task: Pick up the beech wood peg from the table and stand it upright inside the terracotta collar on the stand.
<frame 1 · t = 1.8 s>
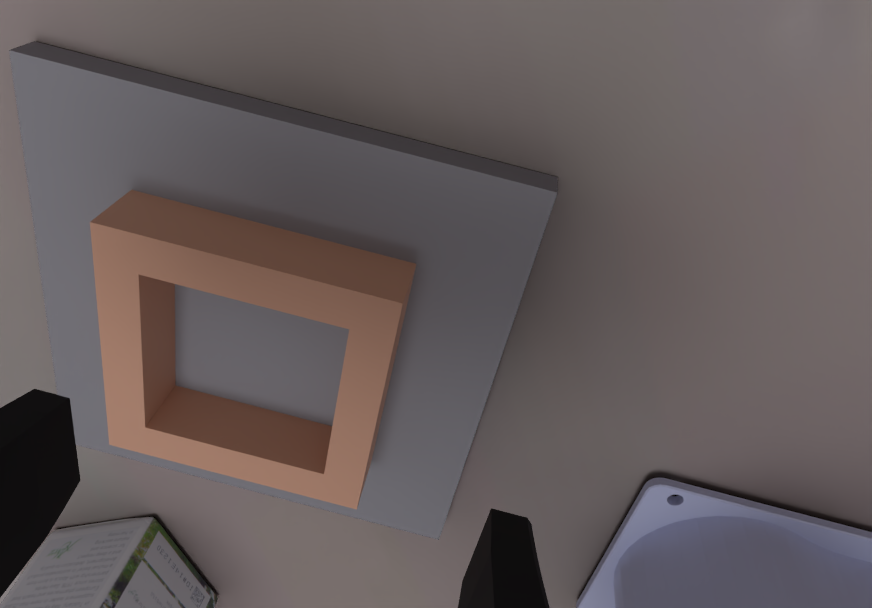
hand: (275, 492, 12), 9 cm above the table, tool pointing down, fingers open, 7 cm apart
collar stand: (275, 322, 22), on the table
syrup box: (141, 558, 30), on the table
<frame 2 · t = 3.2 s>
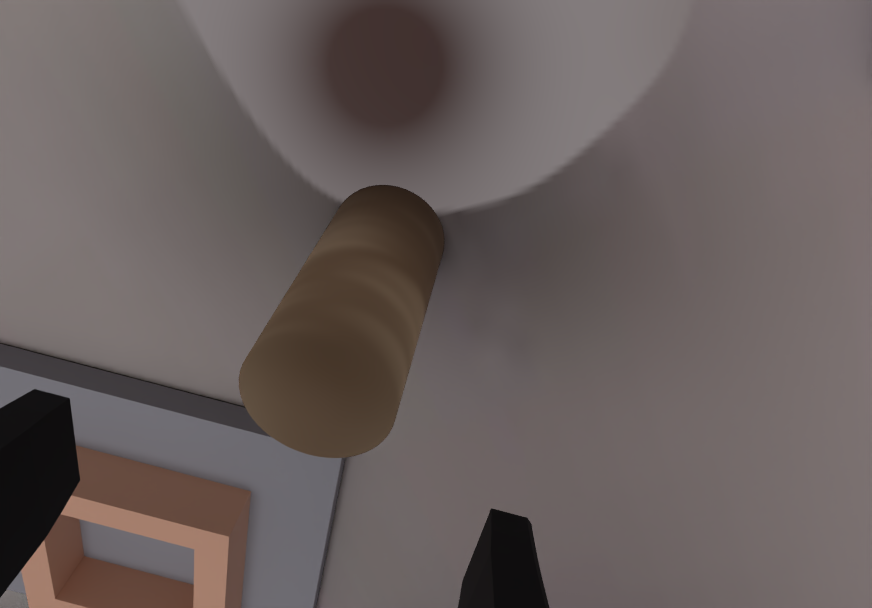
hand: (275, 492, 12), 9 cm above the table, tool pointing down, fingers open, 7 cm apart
collar stand: (159, 511, 28), on the table
wood peg: (388, 237, 19), on the table
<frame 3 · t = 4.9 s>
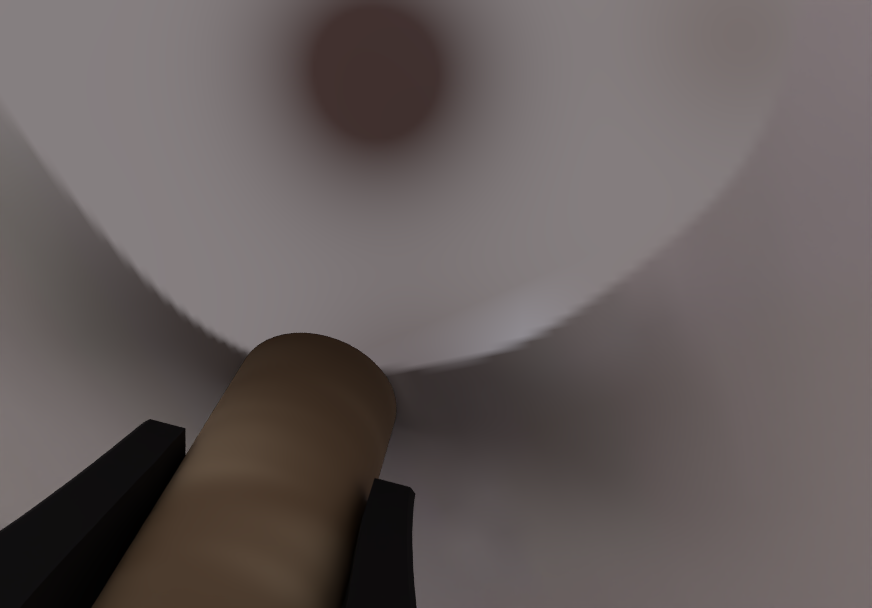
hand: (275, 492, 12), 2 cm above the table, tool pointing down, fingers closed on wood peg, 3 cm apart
wood peg: (317, 398, 14), on the table, touching gripper
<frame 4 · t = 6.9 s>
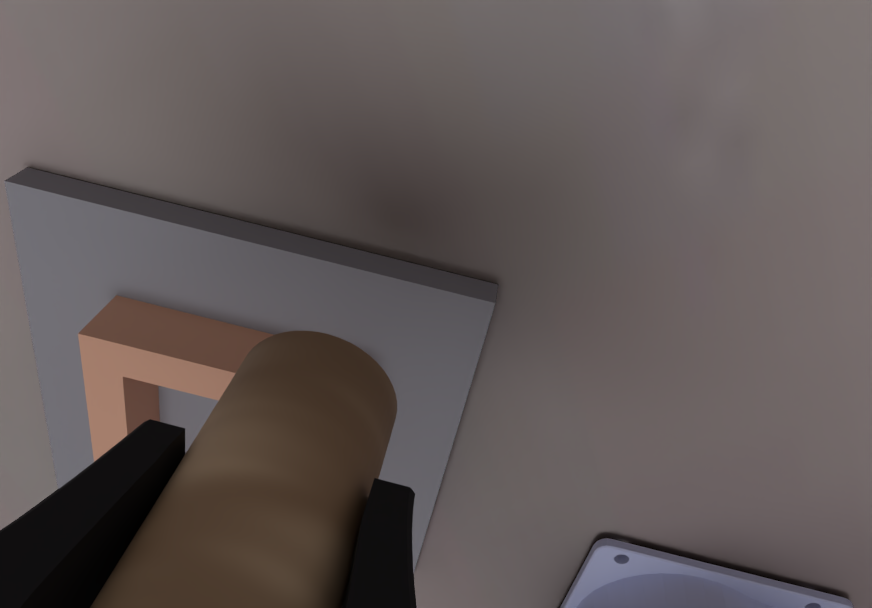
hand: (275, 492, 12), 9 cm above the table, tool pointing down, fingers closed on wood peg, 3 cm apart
collar stand: (251, 401, 24), on the table
wood peg: (317, 396, 14), point 7 cm above the table, touching gripper
when the fingers open (4 cm above the table, at t = 9.1 s): wood peg stays where it is, resting on collar stand.
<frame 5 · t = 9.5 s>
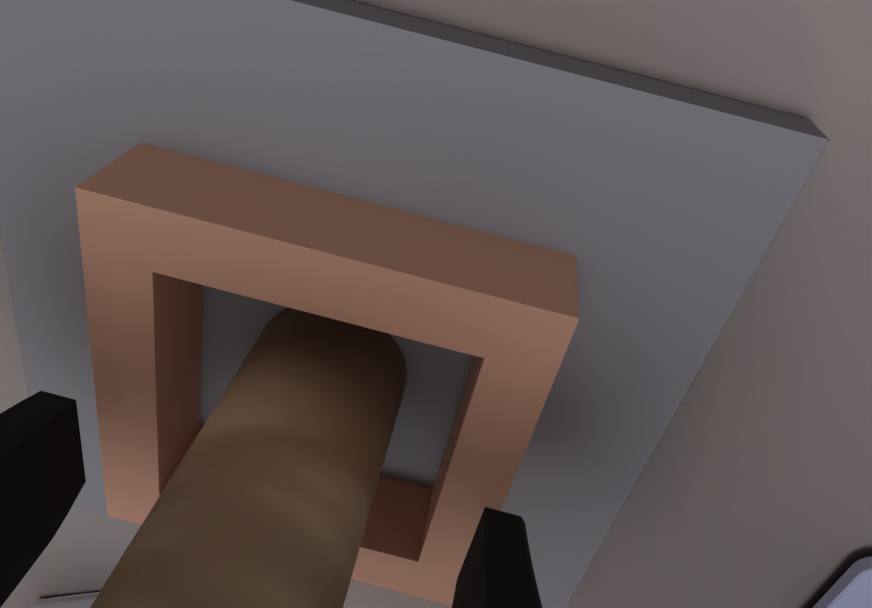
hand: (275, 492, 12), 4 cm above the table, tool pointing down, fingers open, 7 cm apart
collar stand: (342, 340, 15), on the table
wood peg: (331, 366, 14), point 1 cm above the table, touching collar stand
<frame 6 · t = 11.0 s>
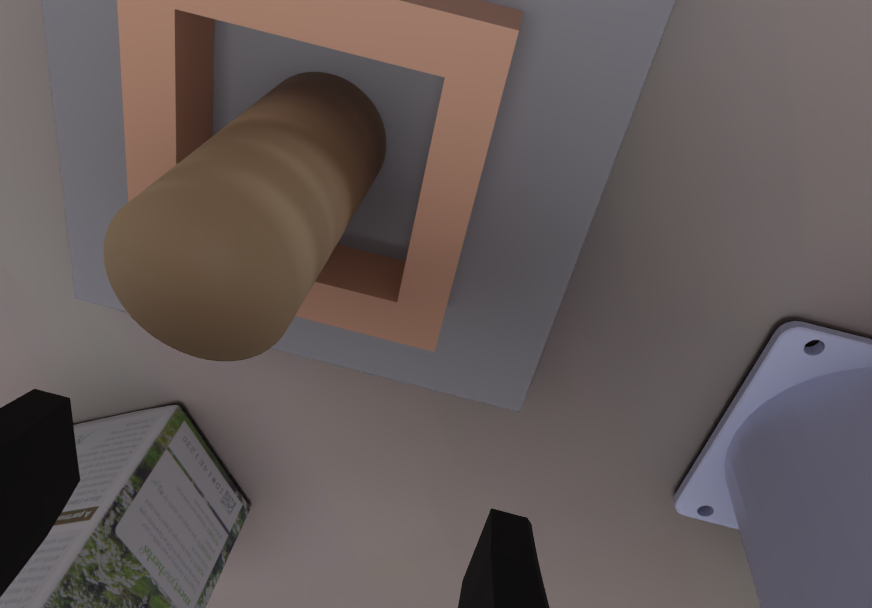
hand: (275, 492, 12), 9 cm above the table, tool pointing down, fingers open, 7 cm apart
collar stand: (332, 127, 18), on the table
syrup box: (163, 462, 26), on the table
wood peg: (322, 138, 17), point 1 cm above the table, touching collar stand
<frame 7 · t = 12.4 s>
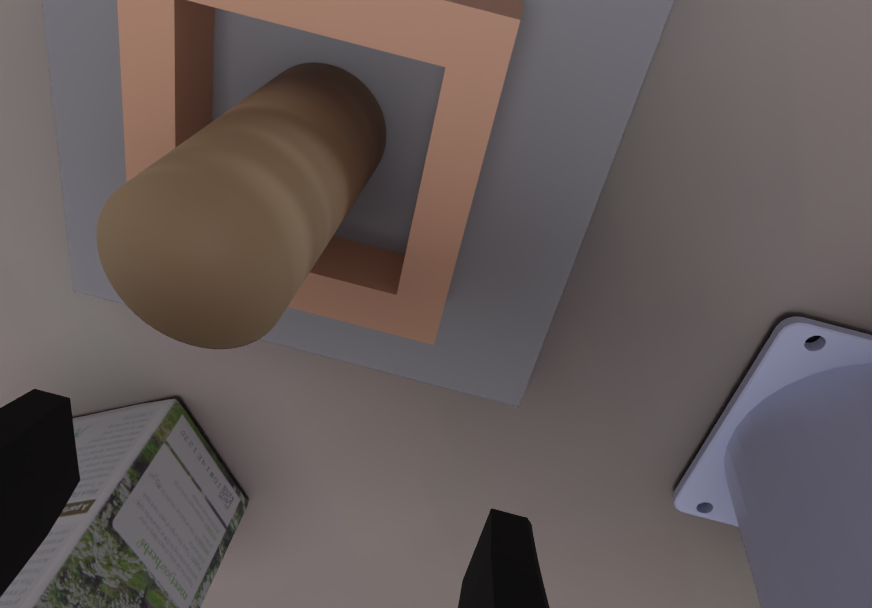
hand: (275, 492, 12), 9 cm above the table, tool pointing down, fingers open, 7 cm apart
collar stand: (333, 118, 18), on the table
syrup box: (160, 456, 26), on the table
wood peg: (322, 129, 17), point 1 cm above the table, touching collar stand
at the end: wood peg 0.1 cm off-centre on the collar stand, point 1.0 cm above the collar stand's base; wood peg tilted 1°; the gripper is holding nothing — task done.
